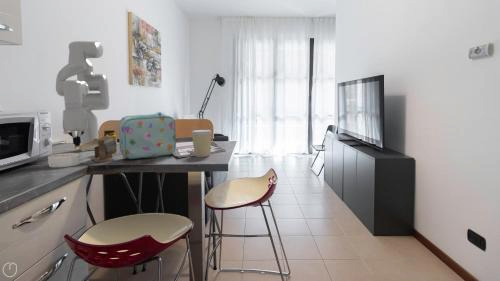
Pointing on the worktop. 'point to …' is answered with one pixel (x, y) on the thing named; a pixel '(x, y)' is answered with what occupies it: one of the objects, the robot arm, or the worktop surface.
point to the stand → (101, 153)
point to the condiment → (112, 133)
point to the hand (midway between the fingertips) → (77, 145)
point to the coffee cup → (202, 142)
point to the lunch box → (147, 136)
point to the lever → (107, 141)
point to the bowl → (64, 160)
